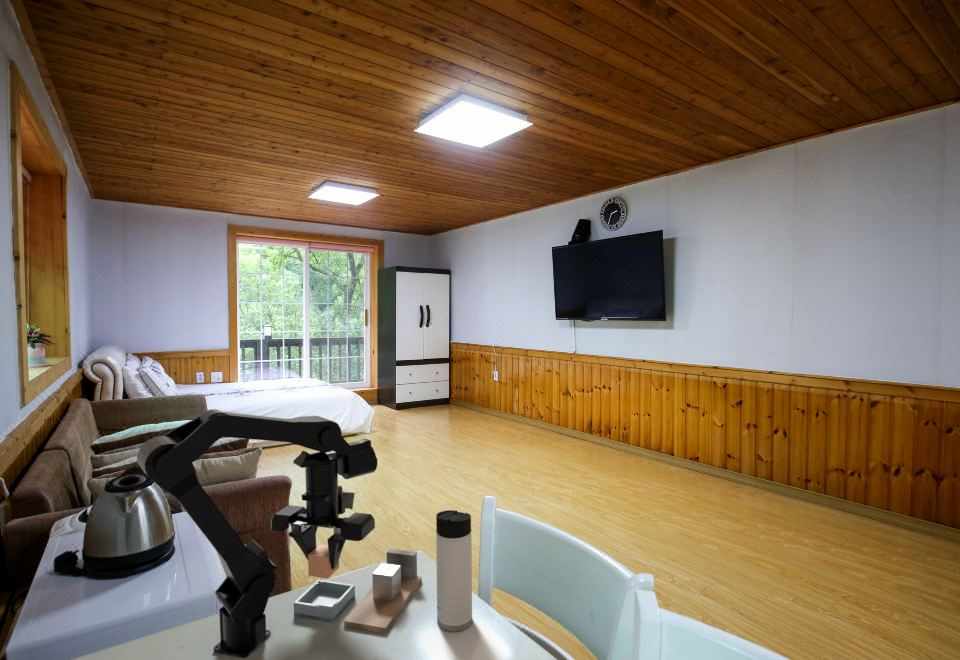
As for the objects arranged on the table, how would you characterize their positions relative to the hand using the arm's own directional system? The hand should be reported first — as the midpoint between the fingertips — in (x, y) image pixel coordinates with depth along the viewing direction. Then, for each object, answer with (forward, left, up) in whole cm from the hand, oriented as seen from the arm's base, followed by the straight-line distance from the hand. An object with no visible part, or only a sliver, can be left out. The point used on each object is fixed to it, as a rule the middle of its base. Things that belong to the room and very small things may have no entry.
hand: (323, 566), depth 96 cm
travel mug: (+25, +2, -8) cm, 26 cm away
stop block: (0, 0, -1) cm, 1 cm away
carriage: (+11, +5, -7) cm, 13 cm away
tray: (0, 0, -8) cm, 8 cm away
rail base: (+11, +4, -8) cm, 14 cm away
